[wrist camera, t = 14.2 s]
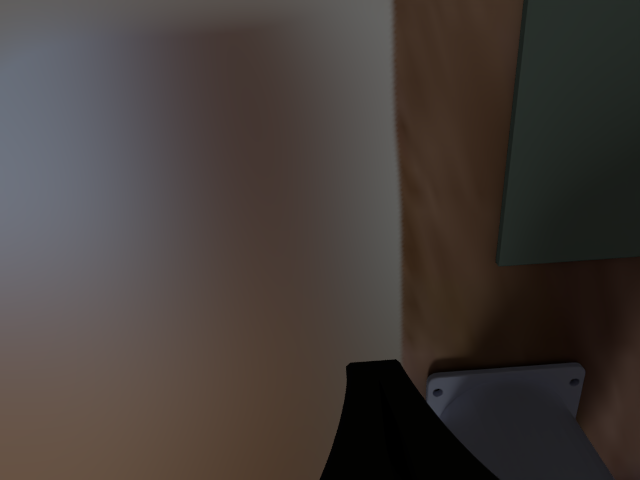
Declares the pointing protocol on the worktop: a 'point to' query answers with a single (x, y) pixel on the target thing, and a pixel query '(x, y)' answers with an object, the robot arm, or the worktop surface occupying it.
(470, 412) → the robot arm
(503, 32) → the worktop surface
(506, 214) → the pitch mat
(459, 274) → the worktop surface
